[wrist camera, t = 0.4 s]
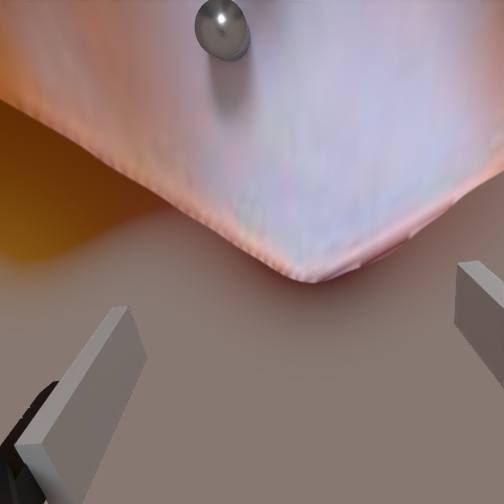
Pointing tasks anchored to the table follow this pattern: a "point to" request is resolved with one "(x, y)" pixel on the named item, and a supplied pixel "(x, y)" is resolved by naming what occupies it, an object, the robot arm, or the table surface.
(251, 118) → the table surface
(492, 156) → the table surface
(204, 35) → the cylinder
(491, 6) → the table surface
